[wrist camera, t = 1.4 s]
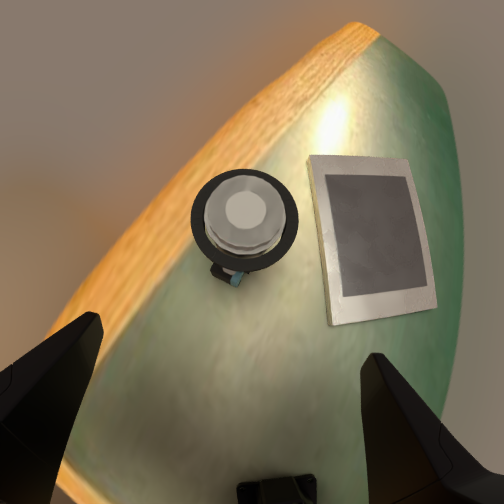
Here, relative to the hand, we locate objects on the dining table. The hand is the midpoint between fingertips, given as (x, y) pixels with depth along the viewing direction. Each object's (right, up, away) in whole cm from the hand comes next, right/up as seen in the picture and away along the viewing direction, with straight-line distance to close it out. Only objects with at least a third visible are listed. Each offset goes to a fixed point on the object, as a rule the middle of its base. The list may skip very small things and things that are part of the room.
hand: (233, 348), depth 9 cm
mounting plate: (+11, +4, +16) cm, 20 cm away
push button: (0, +3, +15) cm, 15 cm away
